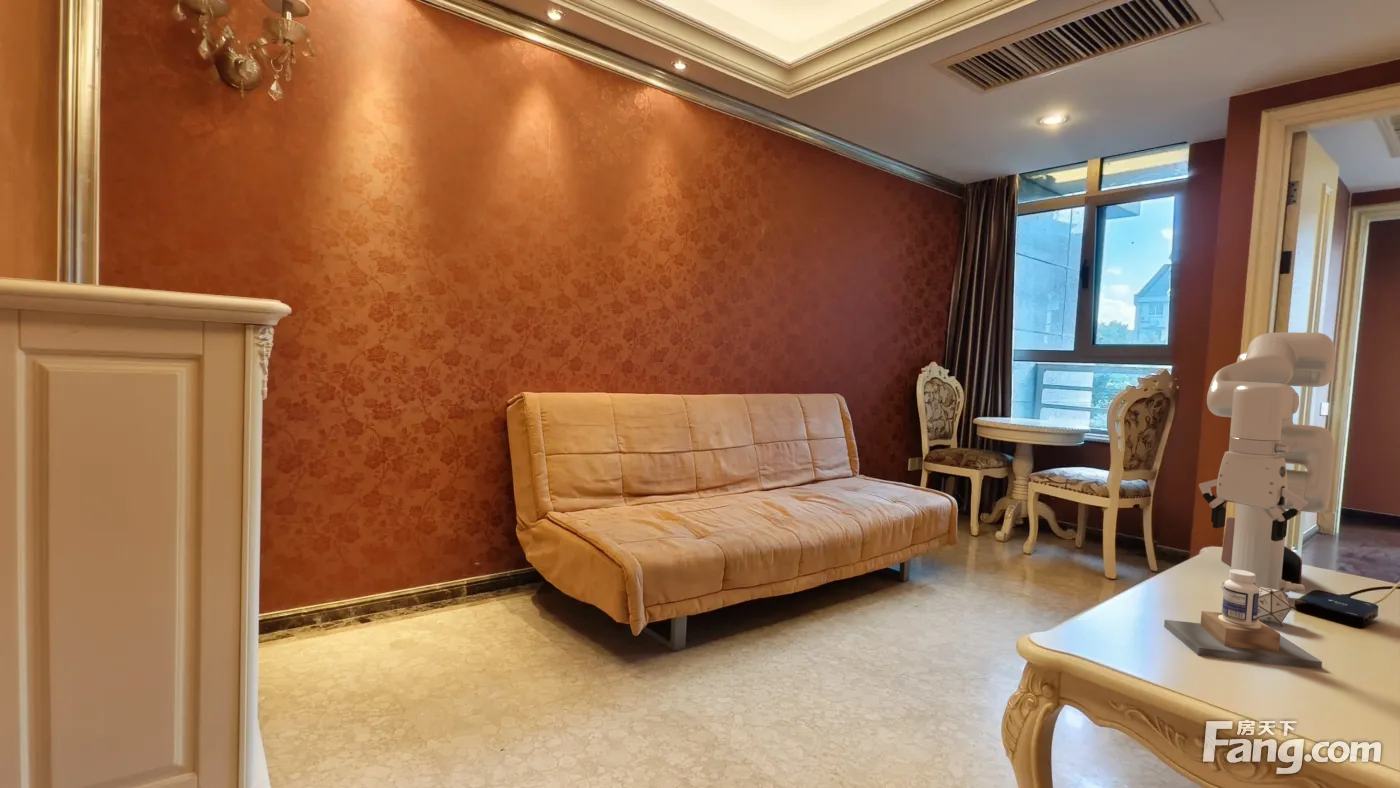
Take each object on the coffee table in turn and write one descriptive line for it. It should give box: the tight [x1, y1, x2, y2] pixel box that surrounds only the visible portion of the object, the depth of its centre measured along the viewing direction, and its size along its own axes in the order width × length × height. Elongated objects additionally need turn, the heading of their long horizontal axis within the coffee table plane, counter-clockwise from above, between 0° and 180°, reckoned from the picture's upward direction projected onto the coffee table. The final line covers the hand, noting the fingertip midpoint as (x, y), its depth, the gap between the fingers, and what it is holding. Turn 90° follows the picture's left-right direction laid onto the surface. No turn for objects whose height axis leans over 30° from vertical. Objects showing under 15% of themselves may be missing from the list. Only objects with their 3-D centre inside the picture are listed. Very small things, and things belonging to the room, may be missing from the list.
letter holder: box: [1220, 517, 1303, 584], centre depth 178 cm, size 10×20×14 cm, turn 162°
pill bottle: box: [1221, 569, 1259, 625], centre depth 130 cm, size 5×5×10 cm
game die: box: [1253, 582, 1297, 628], centre depth 144 cm, size 9×8×10 cm
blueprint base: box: [1163, 610, 1323, 671], centre depth 130 cm, size 20×14×5 cm
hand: (1246, 533), depth 130 cm, fingers open, 9 cm apart
